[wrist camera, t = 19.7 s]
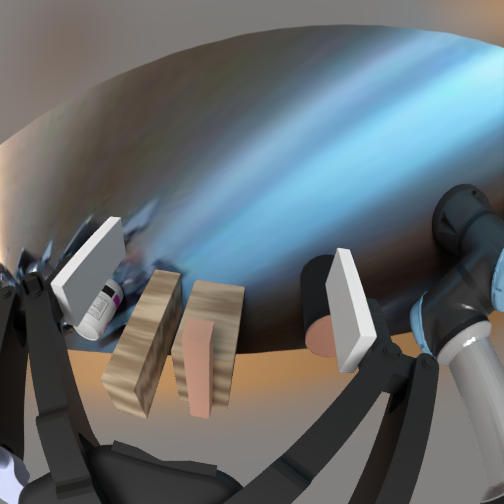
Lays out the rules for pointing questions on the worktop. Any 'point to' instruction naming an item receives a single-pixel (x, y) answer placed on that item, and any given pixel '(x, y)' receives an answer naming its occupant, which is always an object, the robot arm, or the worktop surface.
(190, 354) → the bar
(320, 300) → the coffee jar
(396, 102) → the worktop surface
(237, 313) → the oak stand
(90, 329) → the supplement can
